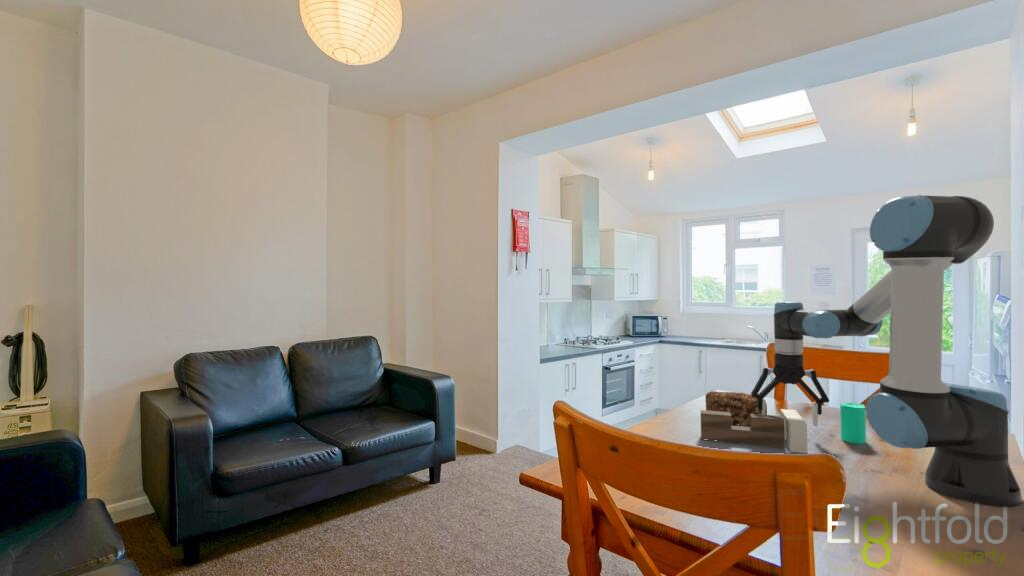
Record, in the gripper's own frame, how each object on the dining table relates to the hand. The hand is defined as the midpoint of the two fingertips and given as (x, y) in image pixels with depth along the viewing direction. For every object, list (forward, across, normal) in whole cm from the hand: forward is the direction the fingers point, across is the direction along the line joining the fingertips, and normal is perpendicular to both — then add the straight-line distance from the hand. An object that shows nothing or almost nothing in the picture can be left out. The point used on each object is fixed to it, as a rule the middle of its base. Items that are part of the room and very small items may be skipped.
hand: (788, 422), depth 142 cm
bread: (+5, +14, -14) cm, 21 cm away
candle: (+5, -17, -4) cm, 18 cm away
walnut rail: (+4, +14, +8) cm, 17 cm away
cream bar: (+4, 0, +5) cm, 7 cm away
